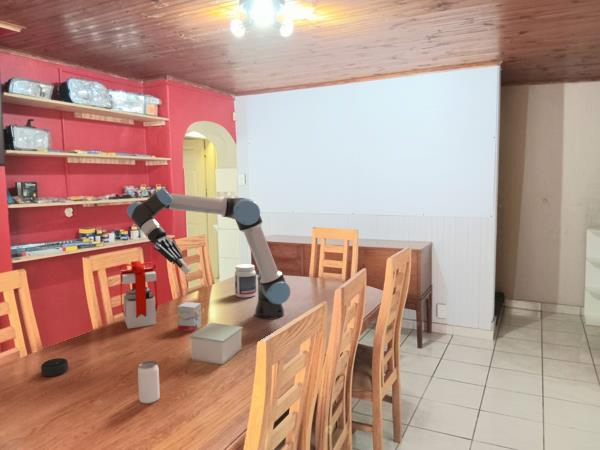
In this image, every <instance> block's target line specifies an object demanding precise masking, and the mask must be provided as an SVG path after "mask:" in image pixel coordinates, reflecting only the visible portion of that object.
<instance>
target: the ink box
mask: <svg viewBox="0 0 600 450" xmlns="http://www.w3.org/2000/svg"><path fill="white" fill-rule="evenodd" d="M200 327H202V303H201V302H192V301H183V303H181V304H179V305H178V306H177V330H178V331H181V332H182V331H184V332H196V330H197V331H198V330H199V328H200Z"/></svg>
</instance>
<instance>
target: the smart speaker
mask: <svg viewBox="0 0 600 450" xmlns="http://www.w3.org/2000/svg"><path fill="white" fill-rule="evenodd" d="M40 370H41V371H40V372H41V375H43V376H44V377H56V376H60V375H63V374H64V373H66V372H67V371H68V370H69V361H68V360H67V359H66V358H61V357H59V358H58V357H57V358H56V357H55V358H52V359H48V360H46V361H44V362H42V364H41V366H40Z"/></svg>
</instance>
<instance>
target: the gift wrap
mask: <svg viewBox="0 0 600 450" xmlns="http://www.w3.org/2000/svg"><path fill="white" fill-rule="evenodd" d="M148 264H153V266H152V267H145V265H148ZM126 266H130V267H131V268H130V269H122V268H123V267H126ZM156 268H157V265H156V264H155V262H154V261H153V262H152V261H145V262H143V263H141V261H140V260H137V261H131V263H124V264H123V263H122V264H121V265H119V267H118V269H119V274H120V276H119V277H120V307H121V311H122V314H123V315H124V317H123V318H124V322H125V326H126V327H127V329H133V328H140V327H141V328H142V327H147V326H153V325H157V314H156V312H157V310H158V291H157V281H158V280H157V279H158V278H157V273H156ZM147 282H149V283H150V282H153V283H154V293H155V296H154V295H153V292H152V290H151V289H150V288H148V286H147V285H146V283H147ZM130 284H131V289H130V290H128V291H127V290H126V291H125V294H124V295H123V285H130ZM122 296H123V297H122Z"/></svg>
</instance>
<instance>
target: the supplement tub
mask: <svg viewBox="0 0 600 450" xmlns="http://www.w3.org/2000/svg"><path fill="white" fill-rule="evenodd" d="M234 292H235V293H234V294H235V296H236V297H238V298H247V299H248V298H251V297H255V296H256V294H257V271H256V270H255V265H254V264H249V263H242V264H241V263H240V264H237V265H235V271H234Z"/></svg>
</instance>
